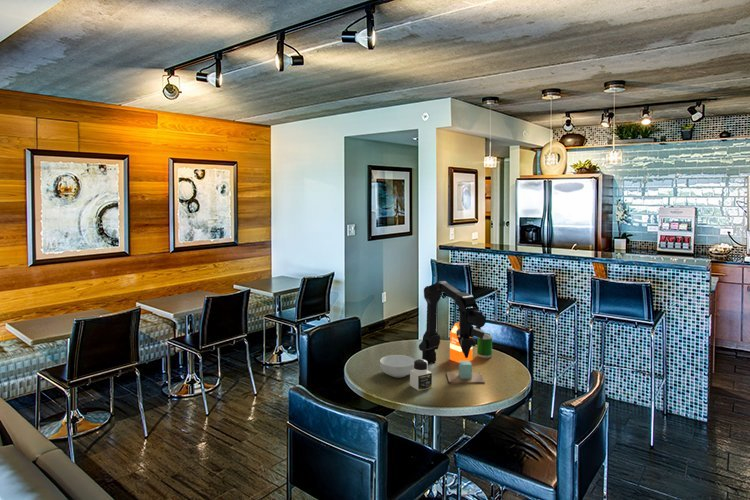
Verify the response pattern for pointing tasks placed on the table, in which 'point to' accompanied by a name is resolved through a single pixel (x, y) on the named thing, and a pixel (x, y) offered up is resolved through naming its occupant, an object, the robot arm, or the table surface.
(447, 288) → the robot arm
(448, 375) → the wooden base plate
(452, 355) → the orange juice
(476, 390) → the table surface
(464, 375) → the pale teal block
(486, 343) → the soda can
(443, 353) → the table surface
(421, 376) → the medicine bottle
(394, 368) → the cereal bowl
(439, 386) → the table surface
